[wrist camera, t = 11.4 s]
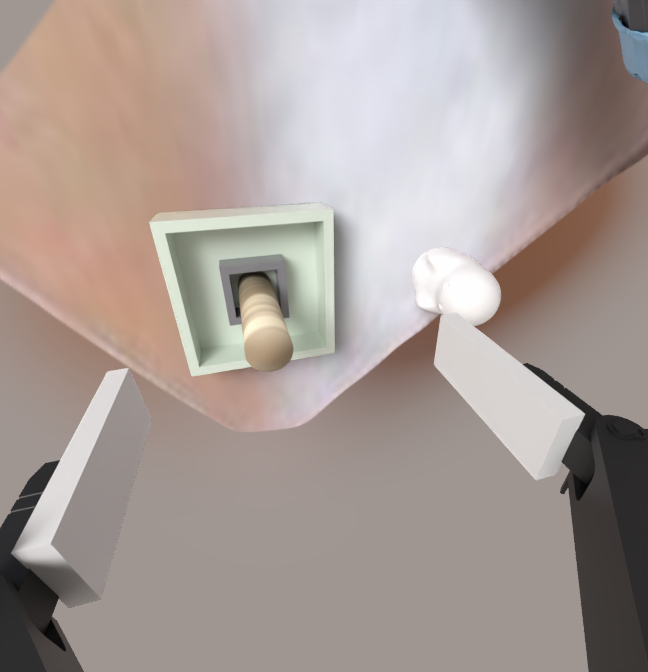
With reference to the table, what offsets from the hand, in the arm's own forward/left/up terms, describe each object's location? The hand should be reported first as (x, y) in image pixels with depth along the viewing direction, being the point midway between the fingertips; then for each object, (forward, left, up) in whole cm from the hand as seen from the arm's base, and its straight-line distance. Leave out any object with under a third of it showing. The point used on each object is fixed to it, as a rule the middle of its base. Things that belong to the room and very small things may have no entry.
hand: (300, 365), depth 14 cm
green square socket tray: (+5, -1, -24) cm, 25 cm away
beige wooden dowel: (+5, -1, -24) cm, 24 cm away
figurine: (+6, +21, -25) cm, 33 cm away
